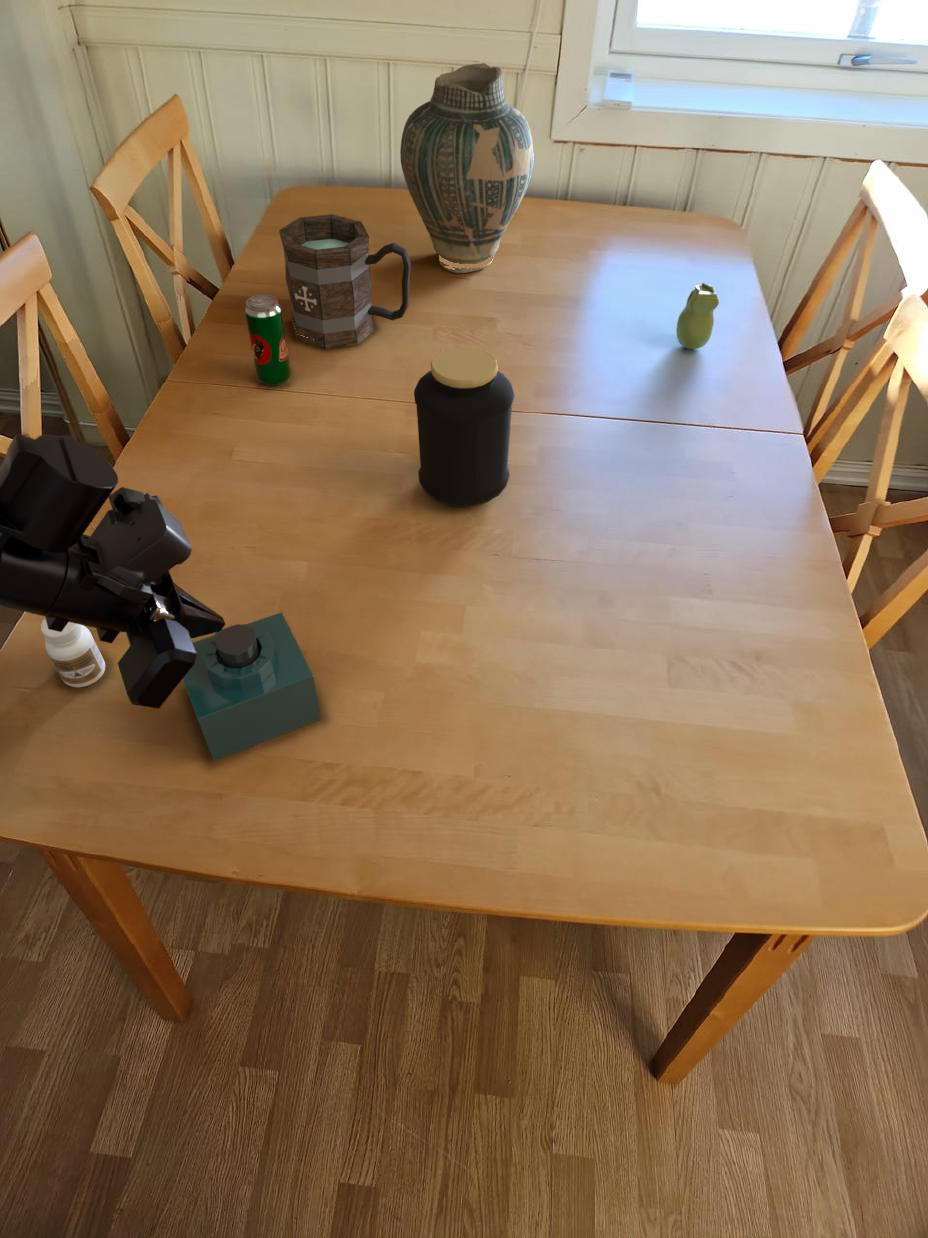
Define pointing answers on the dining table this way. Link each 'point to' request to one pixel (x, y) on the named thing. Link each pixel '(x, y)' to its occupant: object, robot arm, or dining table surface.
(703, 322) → the pear
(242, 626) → the dark brown button
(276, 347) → the soda can
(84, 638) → the pill bottle
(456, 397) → the container
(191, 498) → the dining table surface
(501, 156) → the vase
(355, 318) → the mug
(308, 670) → the teal push button box
